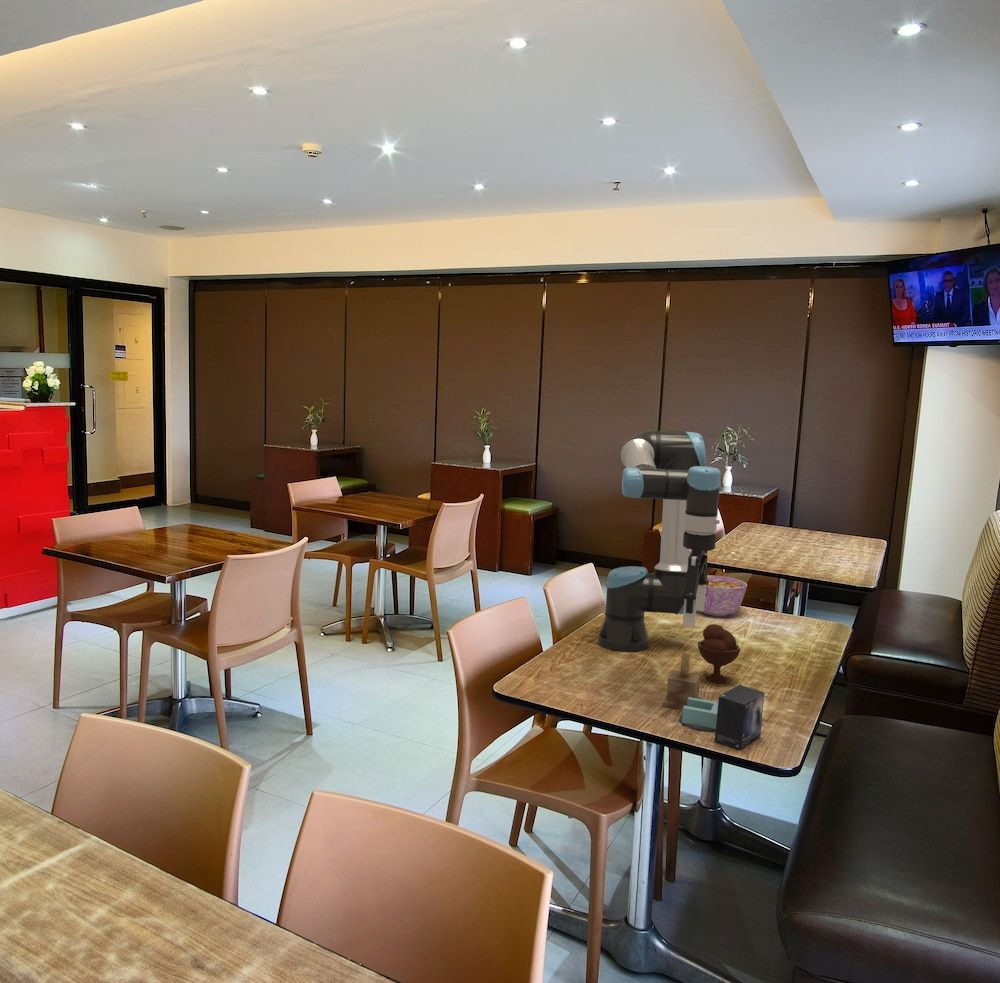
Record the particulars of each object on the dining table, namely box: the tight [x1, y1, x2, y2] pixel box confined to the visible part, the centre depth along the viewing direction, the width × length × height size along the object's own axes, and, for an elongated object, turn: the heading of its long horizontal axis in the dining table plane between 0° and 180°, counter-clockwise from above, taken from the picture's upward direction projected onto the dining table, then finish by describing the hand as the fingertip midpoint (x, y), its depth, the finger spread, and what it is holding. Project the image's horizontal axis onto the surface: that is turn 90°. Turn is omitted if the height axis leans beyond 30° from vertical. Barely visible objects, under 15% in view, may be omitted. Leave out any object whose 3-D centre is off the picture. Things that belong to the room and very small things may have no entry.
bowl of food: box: [703, 574, 748, 617], centre depth 277 cm, size 20×20×12 cm
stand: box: [662, 652, 703, 712], centre depth 191 cm, size 8×8×12 cm
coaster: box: [678, 712, 716, 732], centre depth 181 cm, size 10×10×1 cm
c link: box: [681, 697, 718, 729], centre depth 181 cm, size 8×8×4 cm
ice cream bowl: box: [697, 623, 741, 685], centre depth 209 cm, size 11×11×15 cm
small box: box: [713, 684, 765, 750], centre depth 172 cm, size 11×6×10 cm, turn 138°
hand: (693, 618), depth 191 cm, fingers open, 13 cm apart
